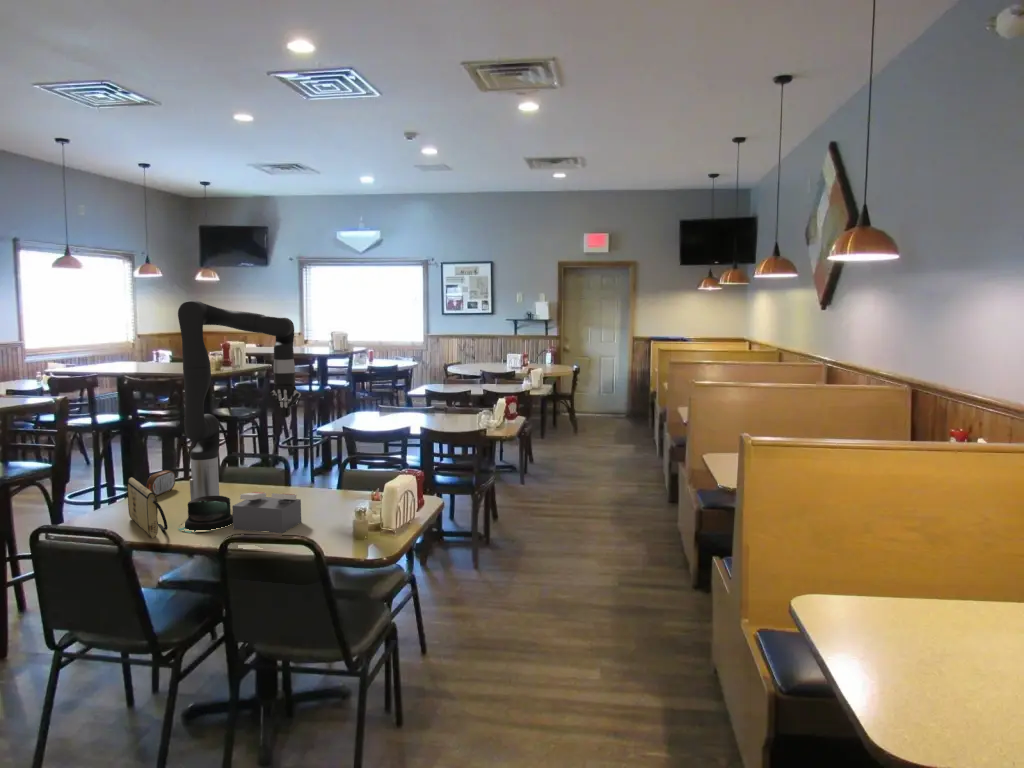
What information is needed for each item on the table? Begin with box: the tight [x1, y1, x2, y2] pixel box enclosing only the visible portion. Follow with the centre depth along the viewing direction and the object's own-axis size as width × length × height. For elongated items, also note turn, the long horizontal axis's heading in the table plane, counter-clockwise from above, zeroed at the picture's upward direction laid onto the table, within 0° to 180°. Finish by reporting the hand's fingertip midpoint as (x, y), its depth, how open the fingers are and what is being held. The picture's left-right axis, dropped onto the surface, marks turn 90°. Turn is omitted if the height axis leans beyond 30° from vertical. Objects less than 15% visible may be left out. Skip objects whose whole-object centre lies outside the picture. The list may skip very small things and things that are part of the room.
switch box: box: [232, 496, 302, 534], centre depth 232 cm, size 12×18×9 cm, turn 77°
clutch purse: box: [126, 476, 169, 538], centre depth 231 cm, size 30×7×15 cm, turn 41°
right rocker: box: [270, 492, 297, 500], centre depth 232 cm, size 8×4×2 cm, turn 167°
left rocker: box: [239, 491, 267, 500], centre depth 232 cm, size 8×4×2 cm, turn 167°
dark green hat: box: [177, 495, 233, 534], centre depth 234 cm, size 20×20×9 cm
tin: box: [145, 469, 176, 497], centre depth 272 cm, size 15×3×8 cm, turn 172°
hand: (285, 417), depth 260 cm, fingers closed
